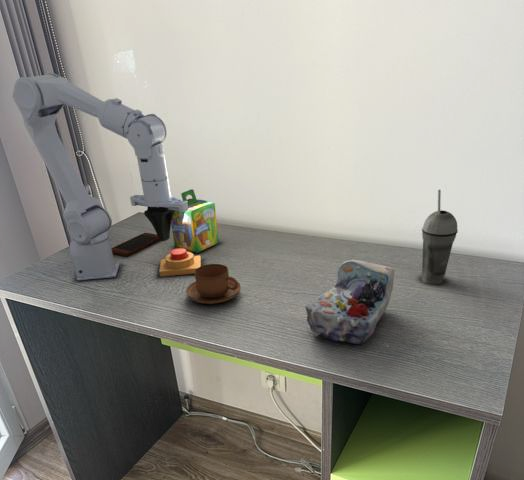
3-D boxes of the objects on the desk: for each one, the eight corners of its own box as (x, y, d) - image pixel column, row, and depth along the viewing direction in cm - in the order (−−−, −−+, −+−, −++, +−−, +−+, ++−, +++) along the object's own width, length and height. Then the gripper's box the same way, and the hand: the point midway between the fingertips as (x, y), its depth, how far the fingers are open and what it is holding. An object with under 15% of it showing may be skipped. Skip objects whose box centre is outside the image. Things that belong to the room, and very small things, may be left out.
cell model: (402, 258, 95) (371, 305, 81) (397, 306, 101) (367, 359, 87) (338, 249, 101) (298, 292, 86) (336, 295, 107) (299, 343, 92)
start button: (171, 261, 121) (169, 255, 120) (171, 255, 124) (170, 249, 123) (187, 260, 121) (186, 253, 120) (187, 254, 125) (186, 247, 124)
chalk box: (197, 254, 132) (190, 198, 124) (173, 247, 137) (164, 193, 128) (220, 243, 138) (214, 189, 130) (196, 237, 143) (189, 185, 134)
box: (160, 276, 121) (157, 264, 119) (162, 264, 127) (160, 252, 126) (201, 272, 121) (199, 260, 120) (200, 260, 128) (199, 248, 126)
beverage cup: (451, 287, 107) (467, 195, 96) (416, 286, 109) (428, 195, 98) (447, 273, 113) (462, 184, 102) (414, 272, 115) (425, 185, 104)
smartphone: (163, 235, 142) (126, 253, 132) (163, 238, 143) (127, 256, 132) (145, 231, 146) (107, 249, 135) (145, 234, 146) (108, 252, 136)
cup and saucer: (244, 283, 115) (242, 259, 111) (237, 308, 105) (235, 282, 101) (193, 284, 116) (189, 260, 112) (182, 309, 106) (177, 283, 102)
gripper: (193, 176, 105) (200, 237, 113) (140, 171, 111) (151, 229, 119) (172, 185, 100) (181, 248, 107) (119, 179, 106) (131, 239, 114)
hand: (164, 239), depth 113 cm, fingers closed
